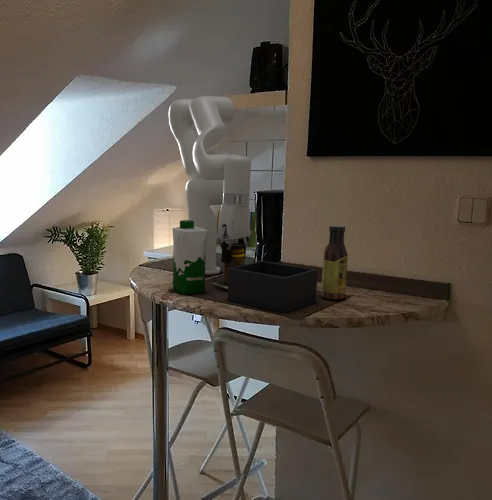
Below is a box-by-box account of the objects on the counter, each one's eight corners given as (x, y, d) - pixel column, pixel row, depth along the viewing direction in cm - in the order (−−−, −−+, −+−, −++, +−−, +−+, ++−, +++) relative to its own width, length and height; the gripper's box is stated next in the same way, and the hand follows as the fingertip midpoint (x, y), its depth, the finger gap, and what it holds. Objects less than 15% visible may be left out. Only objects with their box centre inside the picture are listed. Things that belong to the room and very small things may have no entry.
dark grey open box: (227, 300, 156) (228, 268, 155) (260, 290, 167) (261, 260, 166) (284, 313, 144) (286, 278, 143) (316, 301, 155) (317, 269, 154)
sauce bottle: (341, 301, 155) (346, 228, 152) (318, 298, 158) (322, 226, 155) (347, 296, 160) (351, 225, 157) (324, 293, 164) (328, 223, 160)
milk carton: (195, 286, 173) (196, 219, 169) (210, 293, 164) (211, 222, 161) (168, 288, 169) (169, 220, 166) (182, 295, 161) (183, 224, 158)
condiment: (249, 285, 170) (251, 245, 168) (228, 289, 165) (230, 248, 163) (232, 280, 176) (234, 241, 174) (211, 283, 171) (212, 243, 169)
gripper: (242, 196, 175) (240, 255, 178) (206, 200, 163) (204, 263, 166) (264, 198, 170) (261, 259, 173) (228, 203, 158) (225, 267, 161)
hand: (233, 260), depth 170 cm, fingers closed on condiment, 6 cm apart
